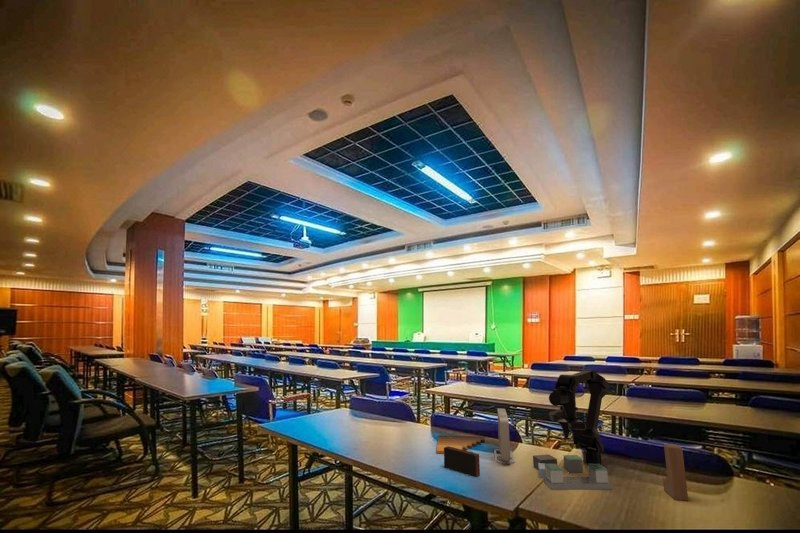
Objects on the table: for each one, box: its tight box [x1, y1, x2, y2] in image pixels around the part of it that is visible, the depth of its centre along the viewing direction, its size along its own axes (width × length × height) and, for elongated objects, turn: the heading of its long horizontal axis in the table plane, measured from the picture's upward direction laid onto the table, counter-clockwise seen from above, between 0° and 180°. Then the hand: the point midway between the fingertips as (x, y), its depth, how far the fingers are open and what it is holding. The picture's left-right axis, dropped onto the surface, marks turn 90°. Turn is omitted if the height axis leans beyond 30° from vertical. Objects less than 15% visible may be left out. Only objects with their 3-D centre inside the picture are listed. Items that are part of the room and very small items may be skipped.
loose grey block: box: [532, 454, 558, 472], centre depth 167 cm, size 8×6×5 cm
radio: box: [440, 430, 481, 478], centre depth 166 cm, size 19×3×15 cm, turn 47°
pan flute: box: [436, 434, 486, 455], centre depth 198 cm, size 25×3×25 cm
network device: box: [493, 408, 516, 465], centre depth 184 cm, size 26×9×20 cm, turn 168°
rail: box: [543, 463, 612, 490], centre depth 150 cm, size 23×7×7 cm, turn 90°
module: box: [563, 454, 584, 474], centre depth 164 cm, size 6×4×6 cm
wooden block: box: [662, 443, 689, 502], centre depth 142 cm, size 9×4×18 cm, turn 167°
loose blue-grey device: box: [538, 463, 545, 480], centre depth 159 cm, size 5×7×4 cm
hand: (570, 441), depth 166 cm, fingers open, 9 cm apart
